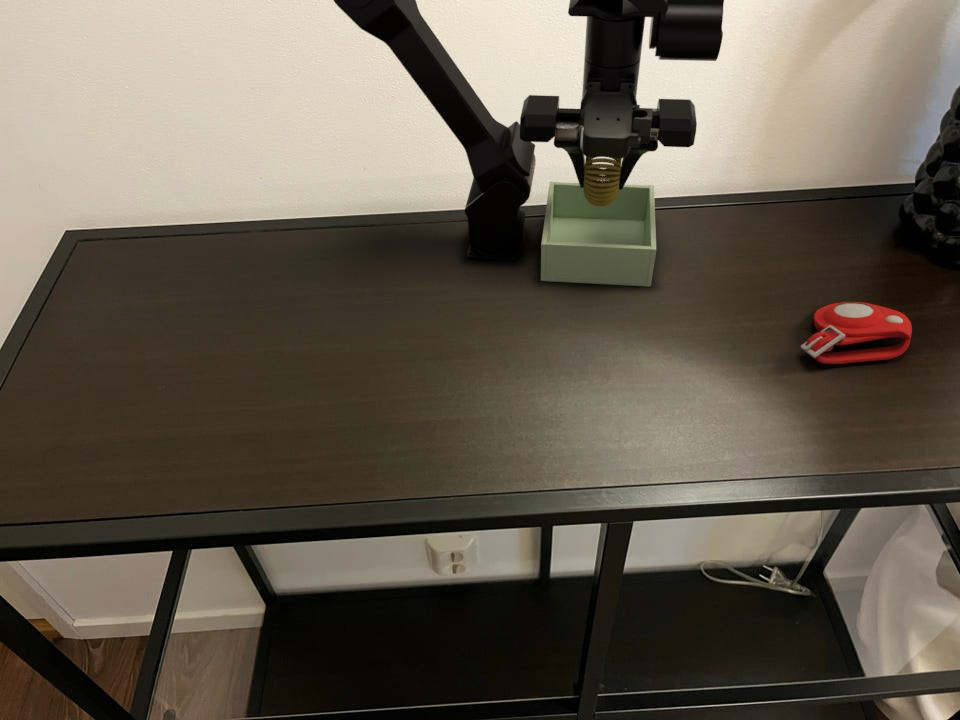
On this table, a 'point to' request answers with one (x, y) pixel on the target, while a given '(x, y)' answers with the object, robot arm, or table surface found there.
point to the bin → (599, 237)
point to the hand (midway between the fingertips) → (601, 187)
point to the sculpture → (596, 185)
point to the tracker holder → (857, 332)
